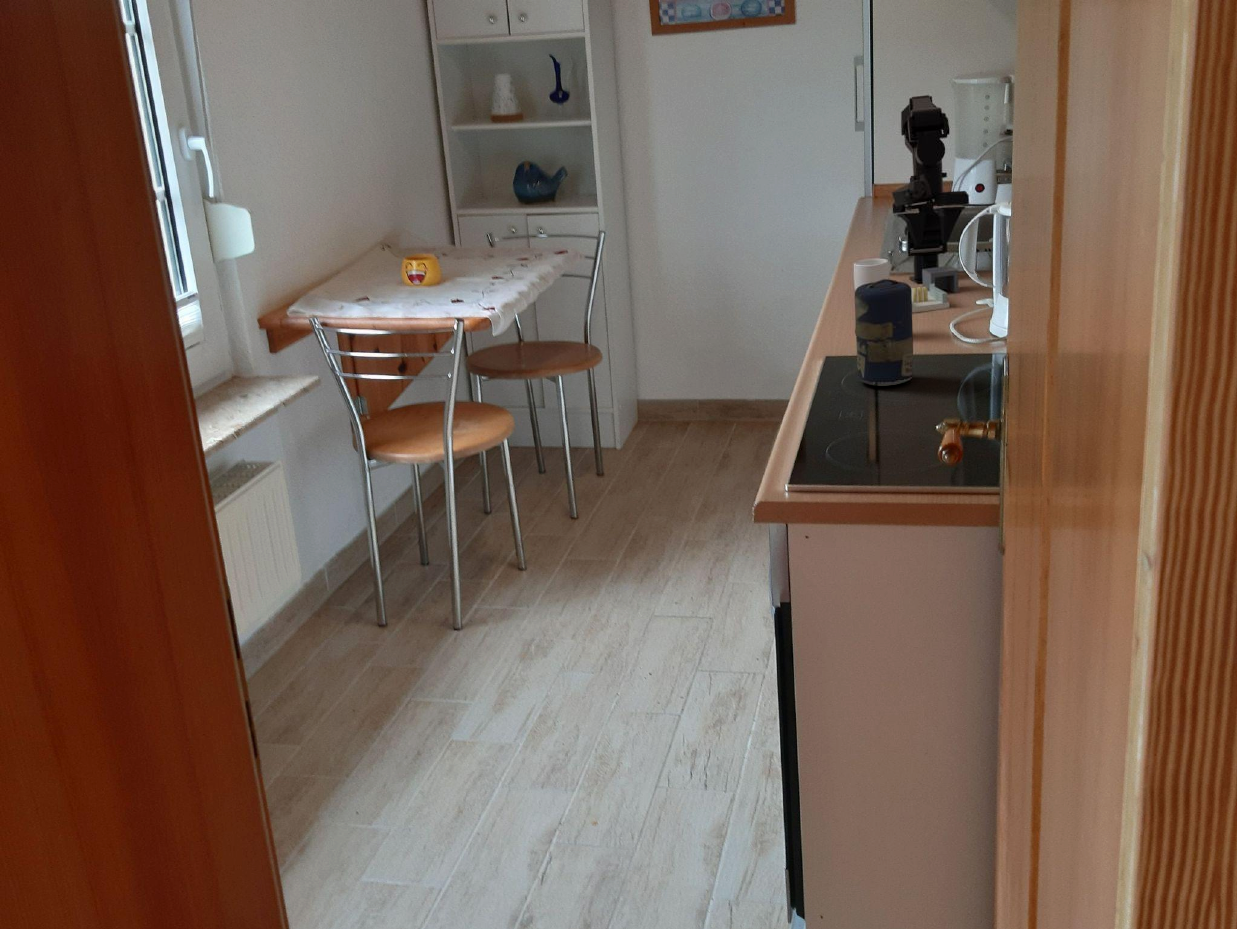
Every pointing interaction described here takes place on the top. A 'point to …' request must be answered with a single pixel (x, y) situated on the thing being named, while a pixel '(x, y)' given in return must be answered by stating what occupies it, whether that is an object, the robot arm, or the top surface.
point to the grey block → (941, 278)
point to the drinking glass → (870, 271)
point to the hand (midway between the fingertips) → (931, 243)
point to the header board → (928, 299)
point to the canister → (884, 331)
